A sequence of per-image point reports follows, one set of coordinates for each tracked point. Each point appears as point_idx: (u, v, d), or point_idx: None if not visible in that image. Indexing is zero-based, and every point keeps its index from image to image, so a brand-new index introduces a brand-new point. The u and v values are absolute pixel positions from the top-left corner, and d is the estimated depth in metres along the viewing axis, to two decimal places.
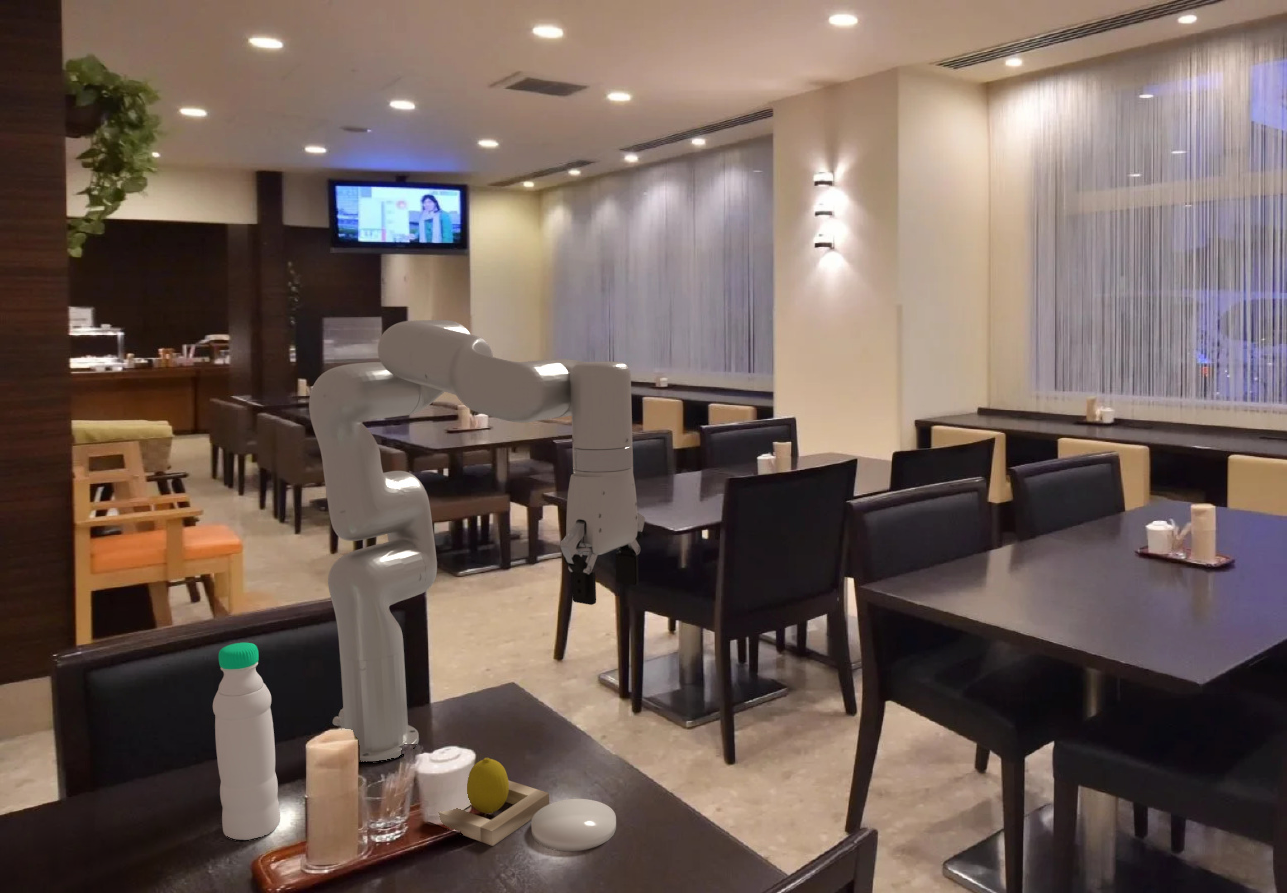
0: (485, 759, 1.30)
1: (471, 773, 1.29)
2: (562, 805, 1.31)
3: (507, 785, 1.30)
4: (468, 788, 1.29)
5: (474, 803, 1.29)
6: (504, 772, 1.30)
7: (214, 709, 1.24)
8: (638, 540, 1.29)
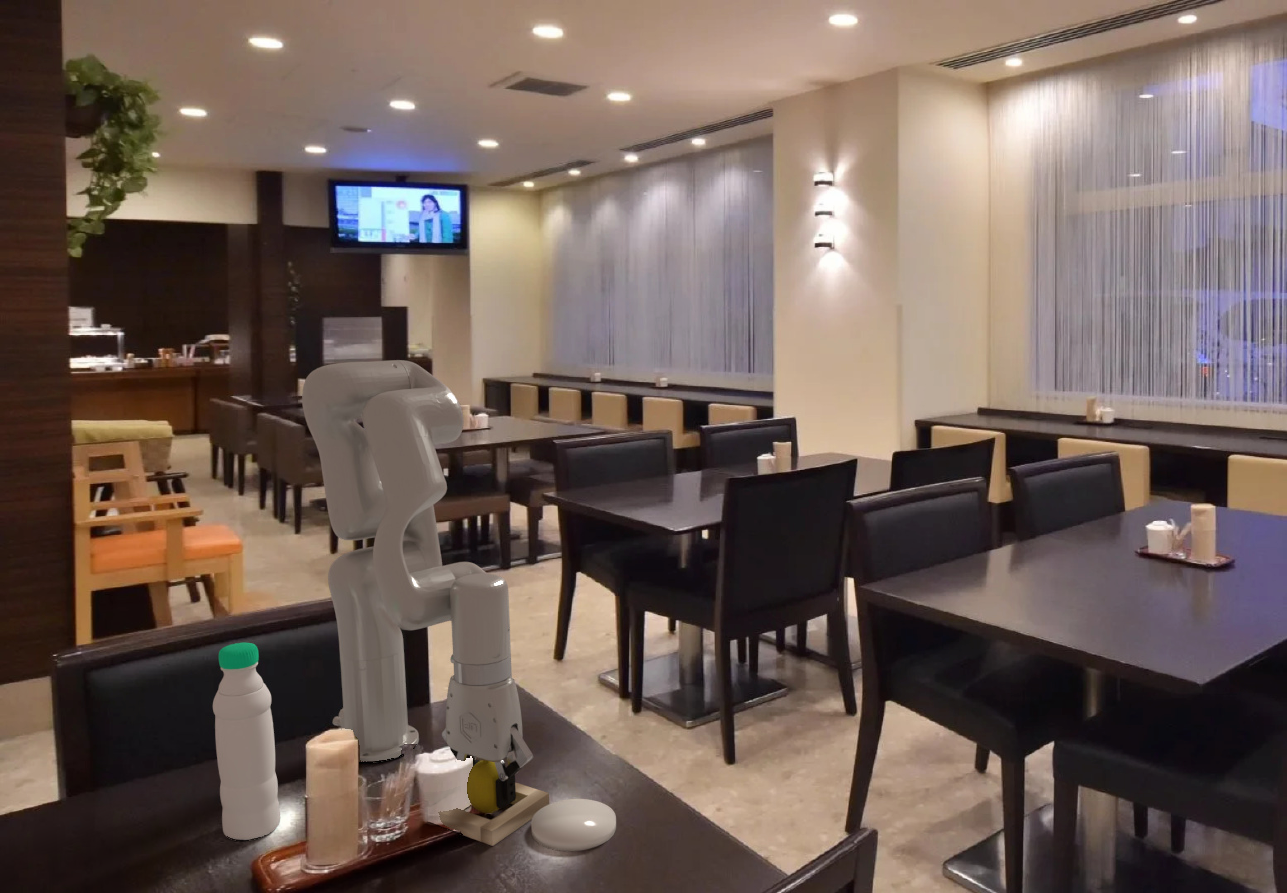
0: None
1: (471, 773, 1.29)
2: (562, 805, 1.31)
3: None
4: (468, 788, 1.29)
5: (474, 803, 1.29)
6: None
7: (214, 709, 1.24)
8: None
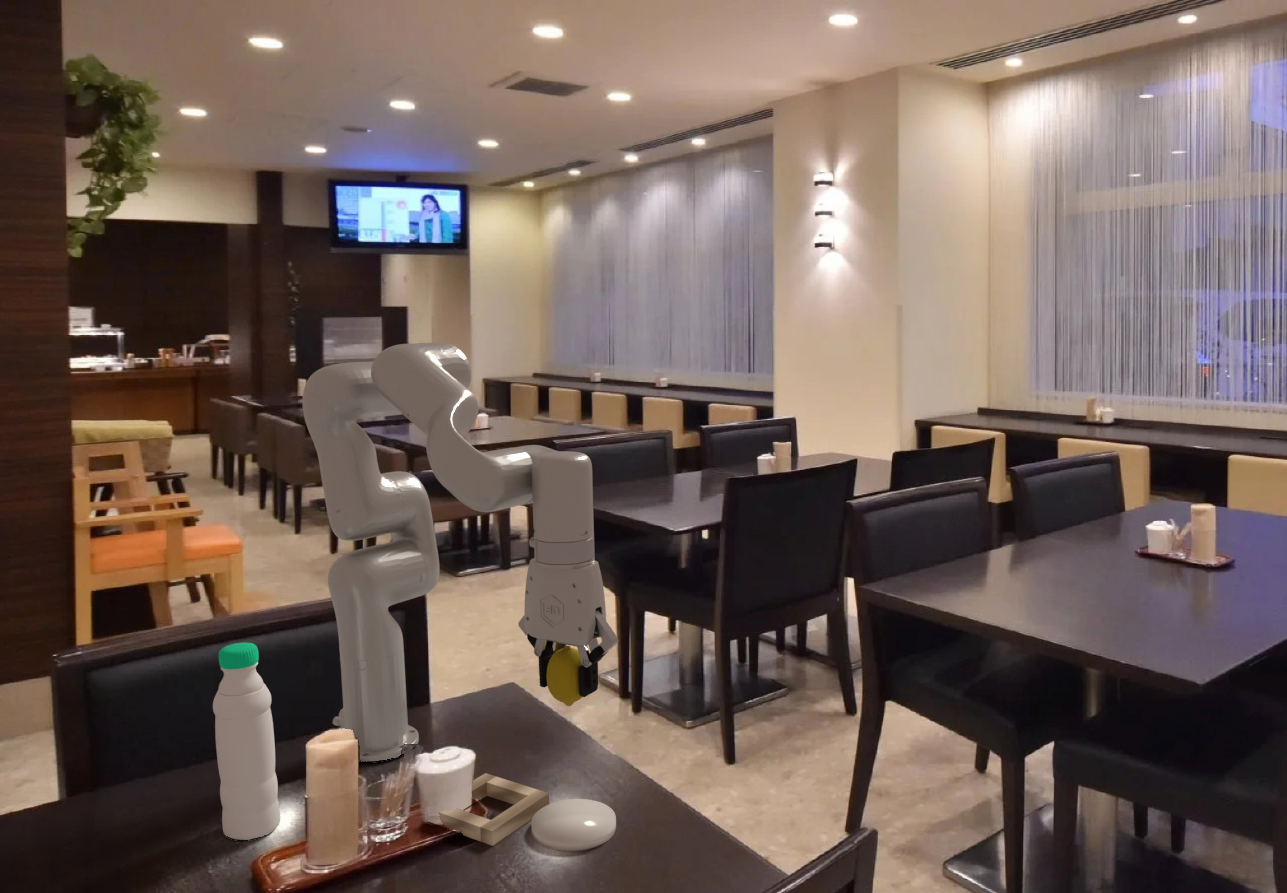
0: (566, 646, 1.24)
1: (551, 661, 1.23)
2: (562, 805, 1.31)
3: None
4: (548, 676, 1.23)
5: (555, 691, 1.22)
6: None
7: (214, 709, 1.24)
8: None
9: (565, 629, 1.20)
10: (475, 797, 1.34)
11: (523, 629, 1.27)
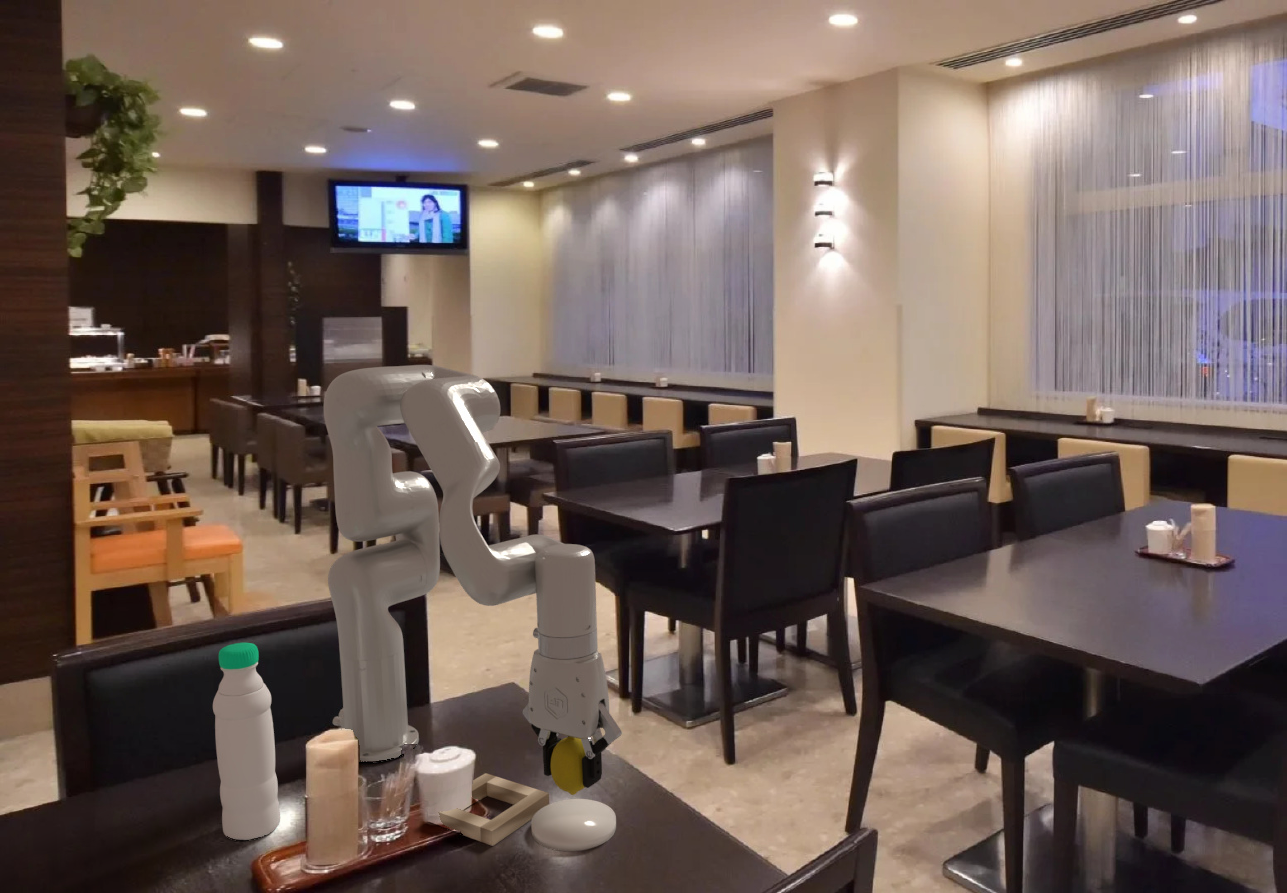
0: (569, 736, 1.25)
1: (555, 751, 1.25)
2: (562, 805, 1.31)
3: None
4: (552, 766, 1.25)
5: (559, 781, 1.24)
6: None
7: (214, 709, 1.24)
8: None
9: (569, 722, 1.22)
10: (475, 797, 1.34)
11: (527, 717, 1.28)
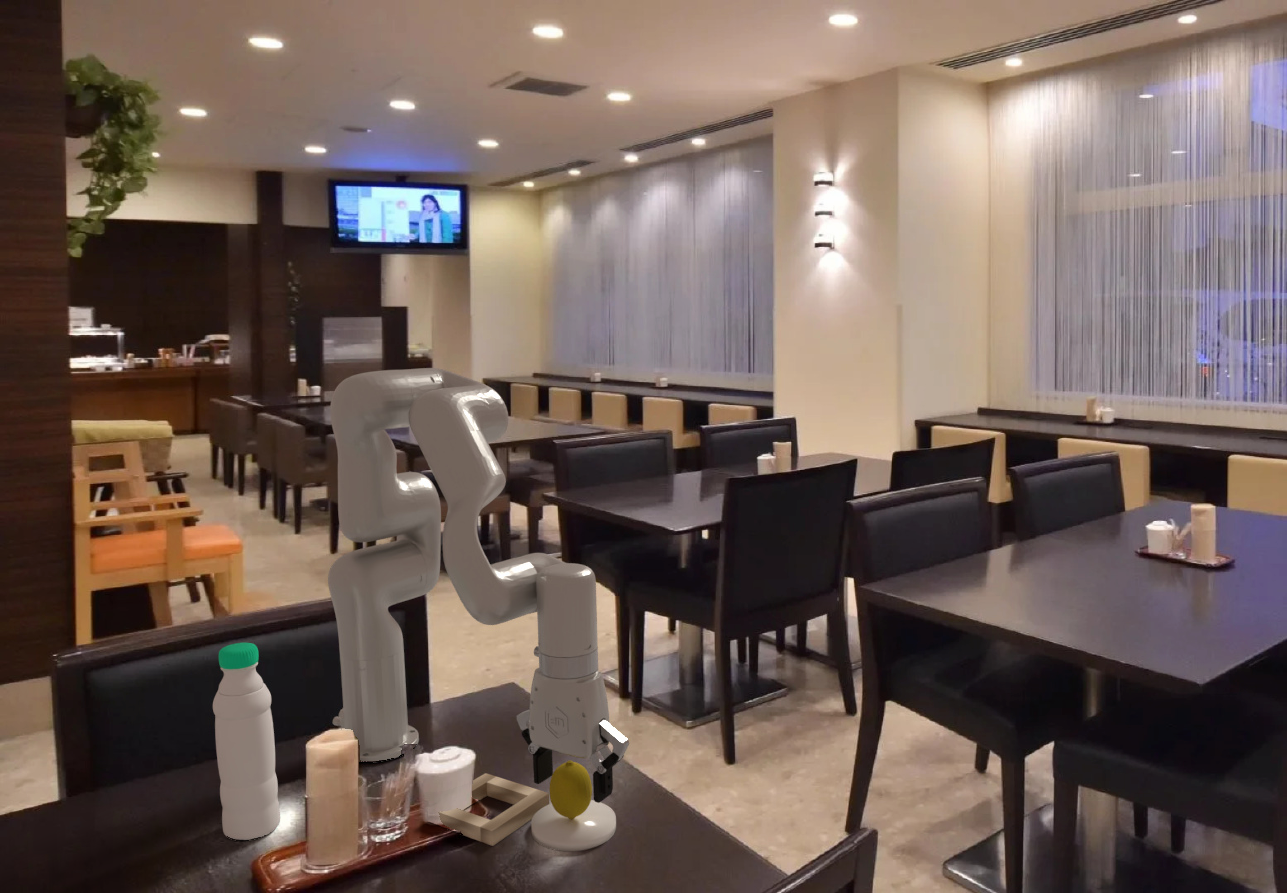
0: (568, 762, 1.26)
1: (554, 776, 1.25)
2: None
3: (591, 789, 1.26)
4: (551, 792, 1.25)
5: (558, 807, 1.25)
6: (588, 775, 1.26)
7: (214, 709, 1.24)
8: None
9: (569, 741, 1.22)
10: (475, 797, 1.34)
11: (520, 723, 1.29)
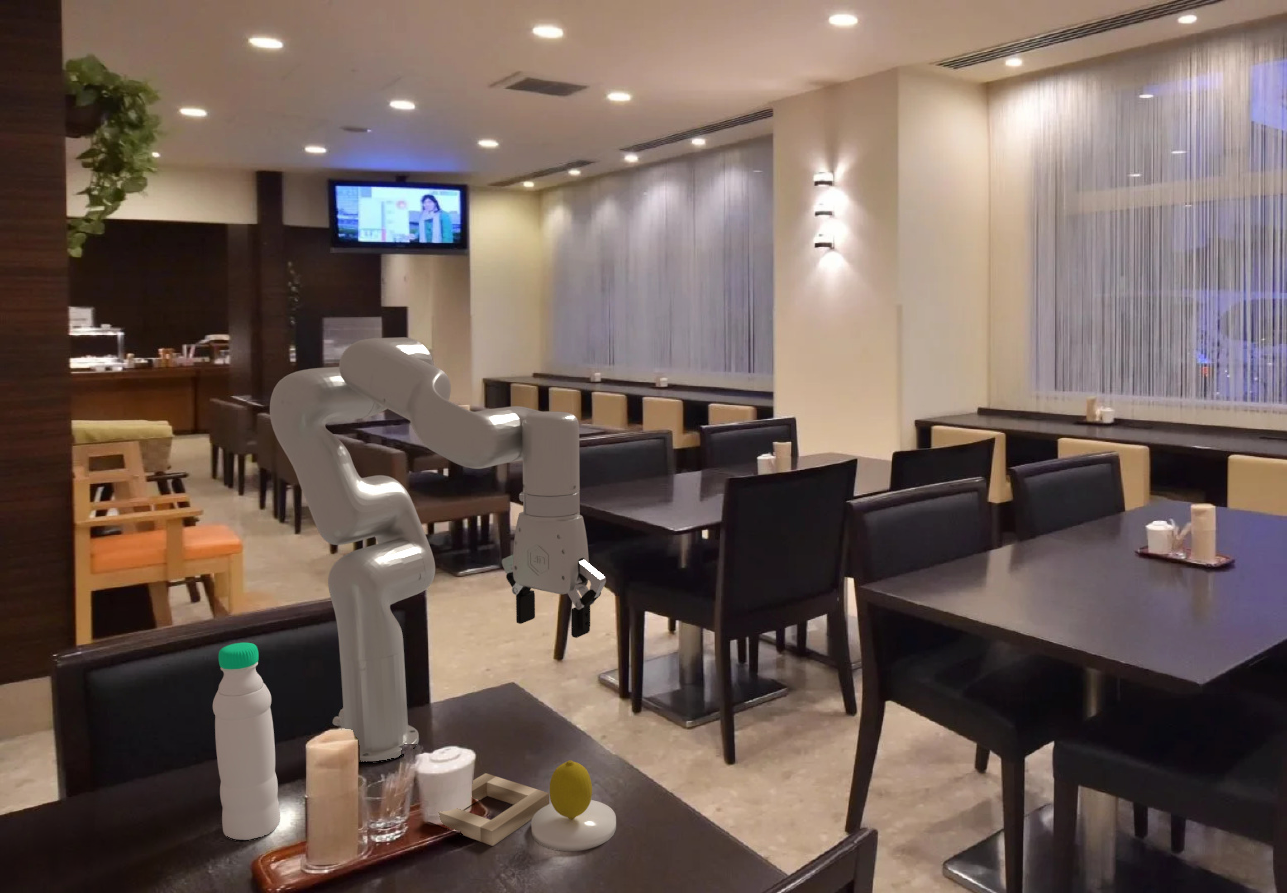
0: (568, 762, 1.26)
1: (554, 776, 1.25)
2: None
3: (591, 789, 1.26)
4: (551, 792, 1.25)
5: (558, 807, 1.25)
6: (588, 775, 1.26)
7: (214, 709, 1.24)
8: None
9: (549, 578, 1.28)
10: (475, 797, 1.34)
11: (505, 567, 1.36)
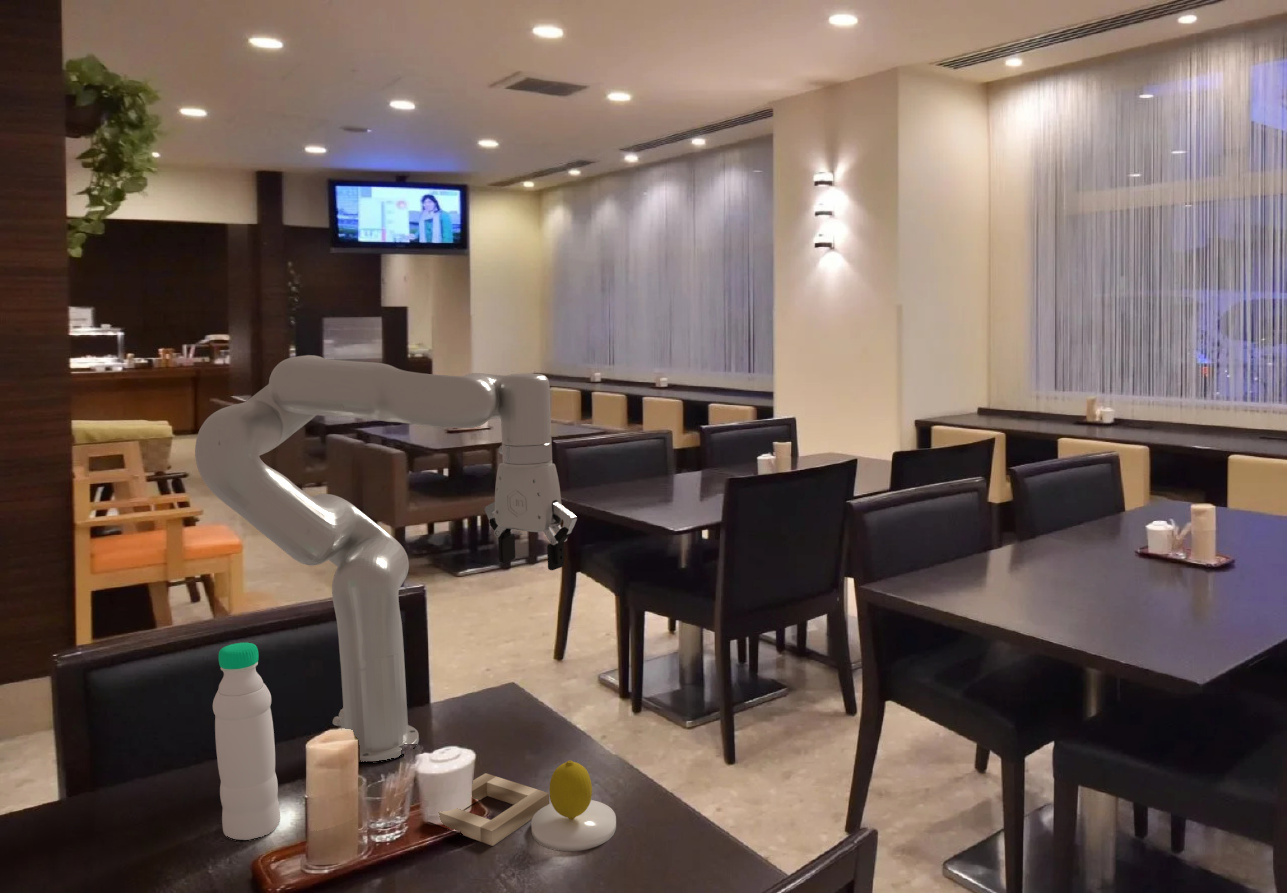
0: (568, 762, 1.26)
1: (554, 776, 1.25)
2: None
3: (591, 789, 1.26)
4: (551, 792, 1.25)
5: (558, 807, 1.25)
6: (588, 775, 1.26)
7: (214, 709, 1.24)
8: None
9: (527, 518, 1.46)
10: (475, 797, 1.34)
11: (487, 513, 1.54)
